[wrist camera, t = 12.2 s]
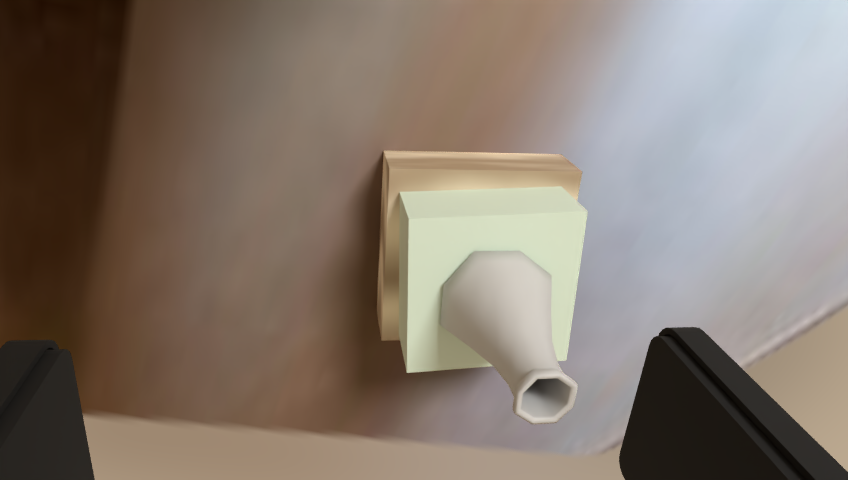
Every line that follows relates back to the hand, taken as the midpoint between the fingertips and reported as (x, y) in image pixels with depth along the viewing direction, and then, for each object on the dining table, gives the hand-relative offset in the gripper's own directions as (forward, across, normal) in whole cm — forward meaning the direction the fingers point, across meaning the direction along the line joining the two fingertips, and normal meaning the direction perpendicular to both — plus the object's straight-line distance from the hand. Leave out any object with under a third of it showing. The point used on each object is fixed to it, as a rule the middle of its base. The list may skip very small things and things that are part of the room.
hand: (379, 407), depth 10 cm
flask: (+25, -10, +12) cm, 30 cm away
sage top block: (+29, -10, +12) cm, 33 cm away
